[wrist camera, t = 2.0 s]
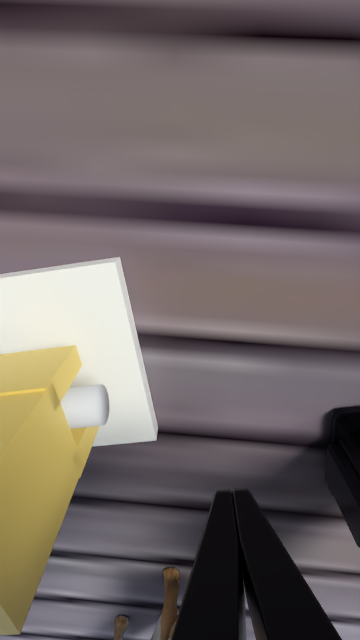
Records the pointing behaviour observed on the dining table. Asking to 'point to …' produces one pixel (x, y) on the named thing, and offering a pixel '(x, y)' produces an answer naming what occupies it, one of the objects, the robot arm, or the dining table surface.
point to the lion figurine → (169, 613)
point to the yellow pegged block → (34, 470)
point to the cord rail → (84, 343)
